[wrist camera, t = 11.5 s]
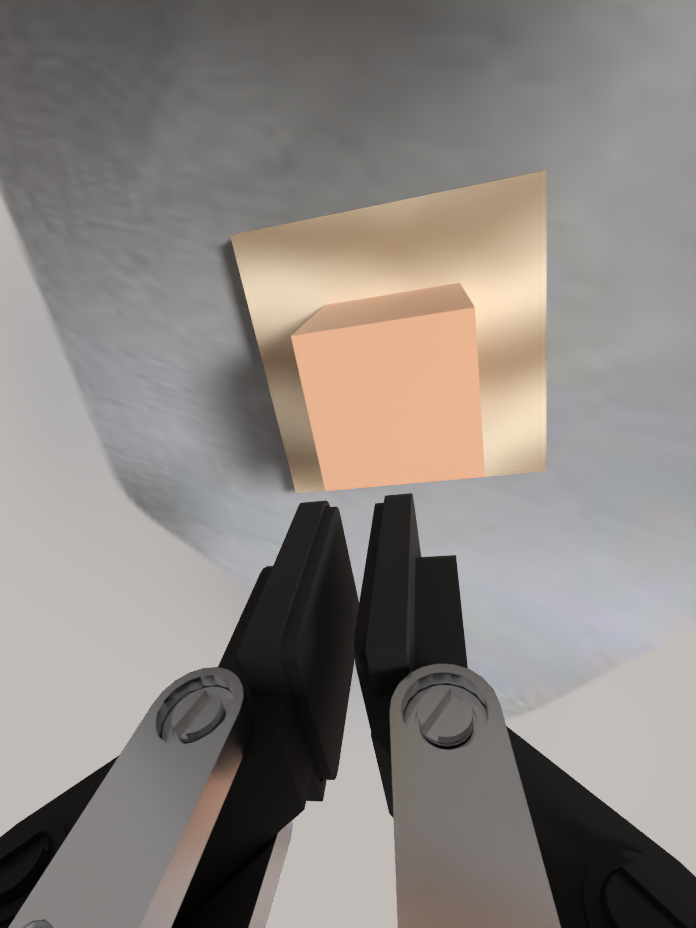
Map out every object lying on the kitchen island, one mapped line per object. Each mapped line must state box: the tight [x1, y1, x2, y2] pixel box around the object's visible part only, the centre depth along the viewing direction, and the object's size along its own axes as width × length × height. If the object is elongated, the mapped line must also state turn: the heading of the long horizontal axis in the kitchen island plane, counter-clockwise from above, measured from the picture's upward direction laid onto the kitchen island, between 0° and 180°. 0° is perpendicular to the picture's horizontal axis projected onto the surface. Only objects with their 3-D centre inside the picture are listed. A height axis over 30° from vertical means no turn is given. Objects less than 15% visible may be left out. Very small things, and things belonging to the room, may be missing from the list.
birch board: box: [230, 171, 546, 493], centre depth 25 cm, size 14×14×1 cm
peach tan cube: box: [291, 283, 485, 491], centre depth 21 cm, size 6×6×7 cm
